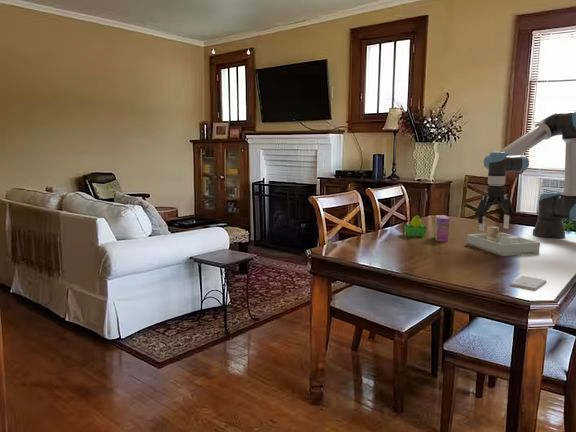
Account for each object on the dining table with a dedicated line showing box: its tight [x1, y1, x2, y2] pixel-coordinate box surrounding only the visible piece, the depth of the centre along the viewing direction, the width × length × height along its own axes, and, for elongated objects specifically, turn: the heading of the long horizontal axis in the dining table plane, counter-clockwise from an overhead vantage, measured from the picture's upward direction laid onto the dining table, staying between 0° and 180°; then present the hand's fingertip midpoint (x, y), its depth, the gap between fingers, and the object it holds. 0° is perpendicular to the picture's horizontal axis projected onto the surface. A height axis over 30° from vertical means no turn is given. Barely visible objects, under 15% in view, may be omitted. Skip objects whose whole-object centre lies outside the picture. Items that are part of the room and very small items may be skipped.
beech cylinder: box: [486, 226, 500, 243], centre depth 221 cm, size 5×5×8 cm
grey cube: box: [500, 235, 520, 244], centre depth 211 cm, size 6×6×6 cm
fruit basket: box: [403, 215, 428, 238], centre depth 245 cm, size 11×9×11 cm
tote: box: [466, 232, 541, 257], centre depth 215 cm, size 20×24×5 cm
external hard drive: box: [509, 275, 547, 292], centre depth 161 cm, size 2×8×12 cm
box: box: [434, 214, 450, 243], centre depth 236 cm, size 10×6×12 cm, turn 168°
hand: (493, 229), depth 221 cm, fingers open, 13 cm apart
